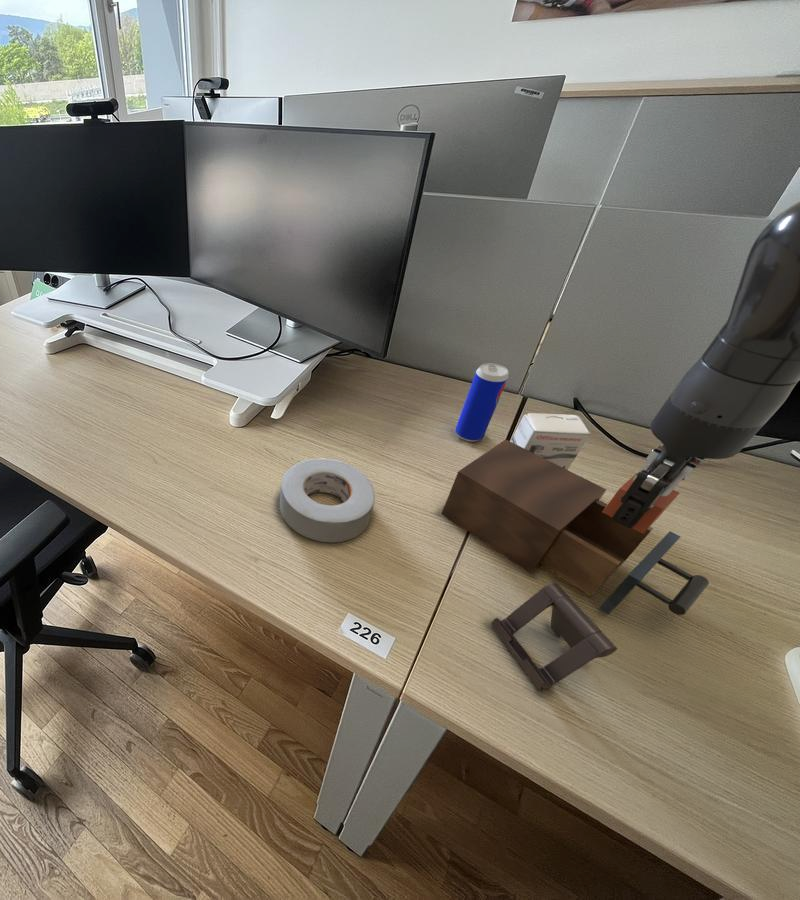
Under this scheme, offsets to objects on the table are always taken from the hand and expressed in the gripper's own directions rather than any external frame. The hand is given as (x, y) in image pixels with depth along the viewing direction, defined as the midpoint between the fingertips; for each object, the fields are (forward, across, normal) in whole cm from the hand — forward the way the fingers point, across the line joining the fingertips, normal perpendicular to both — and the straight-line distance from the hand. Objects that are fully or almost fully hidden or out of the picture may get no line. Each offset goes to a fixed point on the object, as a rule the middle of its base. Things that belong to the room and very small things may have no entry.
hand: (631, 513), depth 59 cm
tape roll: (+13, -21, +32) cm, 40 cm away
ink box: (+13, +14, +16) cm, 25 cm away
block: (0, 0, 0) cm, 0 cm away
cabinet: (+13, 0, +12) cm, 17 cm away
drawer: (+12, 0, -1) cm, 12 cm away
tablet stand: (+13, -17, -2) cm, 22 cm away
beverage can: (+13, +16, +29) cm, 35 cm away
